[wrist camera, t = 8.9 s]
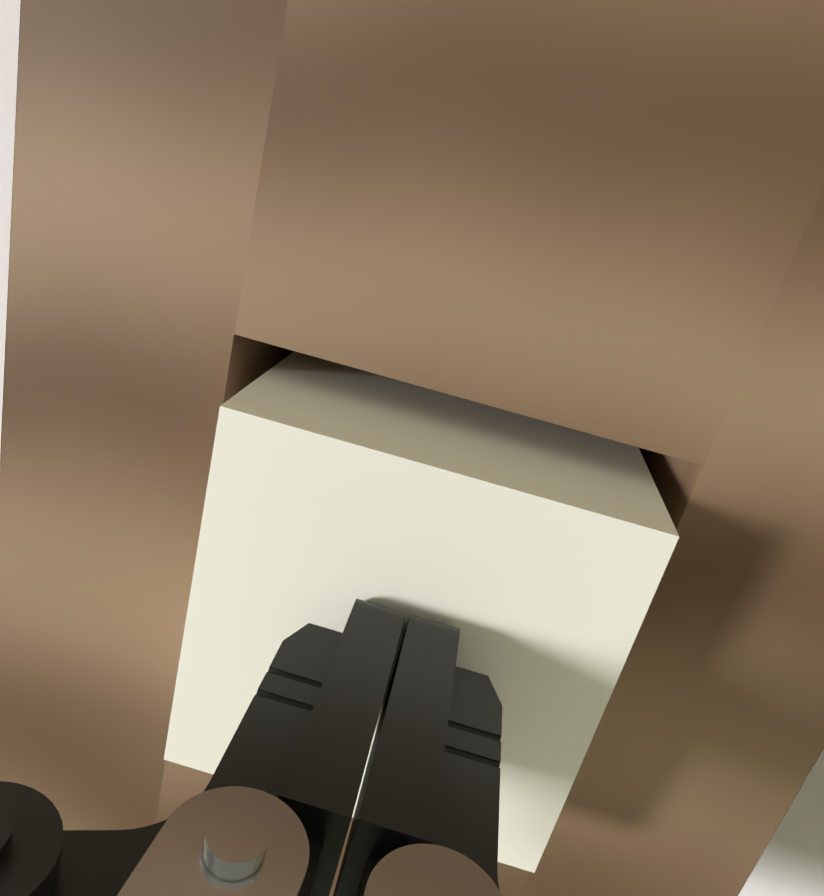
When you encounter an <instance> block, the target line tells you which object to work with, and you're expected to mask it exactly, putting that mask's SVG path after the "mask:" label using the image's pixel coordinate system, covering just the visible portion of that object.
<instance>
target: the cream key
mask: <svg viewBox="0 0 824 896" xmlns="http://www.w3.org/2000/svg"><path fill="white" fill-rule="evenodd" d="M678 539H679V535H678V532H677V530H676V528H675V526H674V524H673V522H672V519H671V517H670V515H669V513H668V511H667V509H666V506H665V504H664V502H663V500H662V498H661V496H660V493H659V491H658V489H657V487H656V485H655V482H654V480H653V478H652V476H651V474H650V472H649V469H648V467H647V465H646V463H645V461H644V459H643V456H642V454H641V452H640V450H639V448H638V447H635V446H632V445H628V444H625V443H621V442H617V441H614V440H610V439H607V438H603V437H600V436H596V435H592V434H589V433H585V432H582V431H578V430H575V429H571V428H567V427H564V426H560V425H557V424H553V423H550V422H546V421H542V420H539V419H535V418H532V417H528V416H524V415H521V414H517V413H514V412H510V411H507V410H503V409H499V408H496V407H492V406H489V405H485V404H482V403H478V402H474V401H471V400H467V399H464V398H460V397H457V396H453V395H449V394H446V393H442V392H439V391H435V390H432V389H428V388H424V387H421V386H417V385H414V384H410V383H407V382H403V381H399V380H396V379H392V378H389V377H385V376H382V375H378V374H374V373H371V372H367V371H364V370H360V369H357V368H353V367H349V366H346V365H342V364H339V363H335V362H332V361H328V360H324V359H321V358H317V357H314V356H310V355H307V354H303V353H299V352H296V351H294V352H292V353H291V354H290V355H288V356H287V357H286V358H284V359H283V360H282V361H280V362H279V363H277V364H276V365H275V366H273V367H272V368H271V369H269V370H268V371H267V372H265V373H264V374H263V375H261V376H260V377H258V378H257V379H256V380H254V381H253V382H252V383H250V384H249V385H248V386H246V387H245V388H244V389H242V390H241V391H239V392H238V393H237V394H235V395H234V396H233V397H231V398H230V399H229V400H227V401H226V402H225V403H223V404H222V405H221V406H220V408H219V415H218V421H217V427H216V434H215V440H214V446H213V452H212V459H211V465H210V471H209V477H208V484H207V490H206V496H205V503H204V509H203V515H202V521H201V528H200V534H199V540H198V547H197V553H196V559H195V565H194V572H193V578H192V584H191V590H190V597H189V603H188V609H187V616H186V622H185V628H184V634H183V641H182V647H181V653H180V660H179V666H178V672H177V678H176V685H175V691H174V697H173V704H172V710H171V716H170V722H169V729H168V735H167V741H166V747H165V754H164V760H167V761H170V762H174V763H177V764H180V765H183V766H187V767H190V768H193V769H197V770H200V771H203V772H206V773H210V774H214V772H215V770H216V768H217V767H218V765H219V763H220V761H221V759H222V757H223V755H224V753H225V751H226V749H227V747H228V745H229V743H230V742H231V740H232V738H233V736H234V734H235V732H236V730H237V728H238V726H239V724H240V722H241V720H242V718H243V717H244V715H245V713H246V711H247V709H248V707H249V705H250V703H251V701H252V699H253V697H254V695H256V693H257V690H258V688H259V686H260V684H261V682H262V680H263V678H264V676H265V674H266V672H268V670H269V666H270V665H271V663H272V661H273V659H274V657H275V655H276V653H277V651H278V649H279V647H280V645H281V643H282V641H283V640H285V639H286V638H287V637H289V636H290V635H292V634H293V633H295V632H296V631H298V630H299V629H301V628H302V627H304V626H305V625H307V624H308V623H311V624H315V625H318V626H321V627H325V628H328V629H331V630H335V631H338V632H342V633H343V630H344V628H345V625H346V623H347V620H348V618H349V615H350V613H351V610H352V608H353V605H354V603H355V600H356V599H360V600H364V601H367V602H370V603H374V604H377V605H381V606H384V607H387V608H391V609H394V610H398V611H401V612H404V613H406V614H405V618H404V622H403V626H402V629H401V633H400V637H399V641H398V645H397V648H396V652H395V656H394V660H393V664H392V667H391V671H390V675H389V679H388V682H387V686H386V690H385V694H384V698H383V701H382V705H381V709H380V713H379V717H378V720H377V724H376V728H375V732H374V735H373V739H372V743H371V747H370V751H369V754H368V758H367V762H366V766H365V769H364V773H363V777H362V781H361V785H360V788H359V792H358V796H357V800H356V804H355V807H354V811H353V815H352V817H354V813H355V809H356V805H357V802H358V798H359V794H360V790H361V786H362V783H363V779H364V775H365V771H366V767H367V763H368V760H369V756H370V752H371V748H372V744H373V741H374V737H375V733H376V730H377V726H378V722H379V719H380V715H381V712H382V708H383V705H384V701H385V698H386V695H387V691H388V688H389V684H390V681H391V677H392V674H393V671H394V667H395V664H396V660H397V657H398V653H399V650H400V647H401V643H402V640H403V636H404V633H405V629H406V626H407V623H408V619H409V616H410V614H412V615H415V616H419V617H422V618H425V619H429V620H432V621H436V622H439V623H442V624H446V625H449V626H453V627H456V628H459V629H460V636H459V644H458V652H457V659H456V666H457V667H460V668H464V669H467V670H470V671H474V672H477V673H481V674H484V675H487V676H489V679H490V681H491V683H492V685H493V687H494V689H495V691H496V693H497V695H498V698H499V700H500V702H501V704H502V734H501V739H500V742H501V762H500V766H499V768H500V799H499V832H498V862H500V863H503V864H507V865H510V866H513V867H516V868H520V869H523V870H526V871H529V872H533V873H535V870H536V868H537V866H538V863H539V861H540V859H541V856H542V854H543V852H544V849H545V847H546V845H547V842H548V840H549V838H550V836H551V833H552V831H553V829H554V826H555V824H556V822H557V819H558V817H559V815H560V812H561V810H562V808H563V805H564V803H565V801H566V798H567V796H568V794H569V791H570V789H571V787H572V785H573V782H574V780H575V778H576V775H577V773H578V771H579V768H580V766H581V764H582V761H583V759H584V757H585V754H586V752H587V750H588V747H589V745H590V743H591V740H592V738H593V736H594V734H595V731H596V729H597V727H598V724H599V722H600V720H601V717H602V715H603V713H604V710H605V708H606V706H607V703H608V701H609V699H610V696H611V694H612V692H613V689H614V687H615V685H616V683H617V680H618V678H619V676H620V673H621V671H622V669H623V666H624V664H625V662H626V659H627V657H628V655H629V652H630V650H631V648H632V645H633V643H634V641H635V638H636V636H637V634H638V632H639V629H640V627H641V625H642V622H643V620H644V618H645V615H646V613H647V611H648V608H649V606H650V604H651V601H652V599H653V597H654V594H655V592H656V590H657V587H658V585H659V583H660V581H661V578H662V576H663V574H664V571H665V569H666V567H667V564H668V562H669V560H670V557H671V555H672V553H673V550H674V548H675V546H676V543H677V541H678Z"/></svg>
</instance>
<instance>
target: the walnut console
mask: <svg viewBox="0 0 824 896" xmlns="http://www.w3.org/2000/svg"><path fill="white" fill-rule="evenodd" d="M294 351H296V352H299V353H303V354H307V355H310V356H314V357H317V358H321V359H324V360H328V361H332V362H335V363H339V364H342V365H346V366H349V367H353V368H357V369H360V370H364V371H367V372H371V373H374V374H378V375H382V376H385V377H389V378H392V379H396V380H399V381H403V382H407V383H410V384H414V385H417V386H421V387H424V388H428V389H432V390H435V391H439V392H442V393H446V394H449V395H453V396H457V397H460V398H464V399H467V400H471V401H474V402H478V403H482V404H485V405H489V406H492V407H496V408H499V409H503V410H507V411H510V412H514V413H517V414H521V415H524V416H528V417H532V418H535V419H539V420H542V421H546V422H550V423H553V424H557V425H560V426H564V427H567V428H571V429H575V430H578V431H582V432H585V433H589V434H592V435H596V436H600V437H603V438H607V439H610V440H614V441H617V442H621V443H625V444H628V445H632V446H635V447H638V448H639V450H640V452H641V454H642V456H643V459H644V461H645V463H646V465H647V467H648V469H649V472H650V474H651V476H652V478H653V480H654V482H655V485H656V487H657V489H658V491H659V493H660V496H661V498H662V500H663V502H664V504H665V506H666V509H667V511H668V513H669V515H670V517H671V519H672V522H673V524H674V526H675V528H676V530H677V532H678V535H679V539H678V541H677V543H676V546H675V548H674V550H673V553H672V555H671V557H670V560H669V562H668V564H667V567H666V569H665V571H664V574H663V576H662V578H661V581H660V583H659V585H658V587H657V590H656V592H655V594H654V597H653V599H652V601H651V604H650V606H649V608H648V611H647V613H646V615H645V618H644V620H643V622H642V625H641V627H640V629H639V632H638V634H637V636H636V638H635V641H634V643H633V645H632V648H631V650H630V652H629V655H628V657H627V659H626V662H625V664H624V666H623V669H622V671H621V673H620V676H619V678H618V680H617V683H616V685H615V687H614V689H613V692H612V694H611V696H610V699H609V701H608V703H607V706H606V708H605V710H604V713H603V715H602V717H601V720H600V722H599V724H598V727H597V729H596V731H595V734H594V736H593V738H592V740H591V743H590V745H589V747H588V750H587V752H586V754H585V757H584V759H583V761H582V764H581V766H580V768H579V771H578V773H577V775H576V778H575V780H574V782H573V785H572V787H571V789H570V791H569V794H568V796H567V798H566V801H565V803H564V805H563V808H562V810H561V812H560V815H559V817H558V819H557V822H556V824H555V826H554V829H553V831H552V833H551V836H550V838H549V840H548V842H547V845H546V847H545V849H544V852H543V854H542V856H541V859H540V861H539V863H538V866H537V868H536V870H535V873H533V872H529V871H526V870H523V869H520V868H516V867H513V866H510V865H507V864H503V863H500V862H498V865H497V873H498V884H499V889H500V892H501V894H502V896H738V894H739V893H740V891H741V889H742V888H743V886H744V884H745V882H746V881H747V879H748V877H749V876H750V874H751V872H752V870H753V869H754V867H755V865H756V864H757V862H758V860H759V858H760V857H761V855H762V853H763V852H764V850H765V848H766V846H767V845H768V843H769V841H770V840H771V838H772V836H773V834H774V833H775V831H776V829H777V828H778V826H779V824H780V822H781V821H782V819H783V817H784V816H785V814H786V812H787V810H788V809H789V807H790V805H791V804H792V802H793V800H794V798H795V797H796V795H797V793H798V791H799V790H800V788H801V786H802V785H803V783H804V781H805V779H806V778H807V776H808V774H809V773H810V771H811V769H812V767H813V766H814V764H815V762H816V761H817V759H818V757H819V755H820V754H821V752H822V750H823V749H824V0H21V7H20V30H19V52H18V74H17V97H16V119H15V141H14V164H13V186H12V208H11V231H10V253H9V276H8V298H7V320H6V343H5V365H4V387H3V410H2V432H1V455H0V781H6V782H13V783H18V784H23V785H25V786H28V787H31V788H34V789H35V790H37V791H39V792H40V793H42V794H44V795H45V796H46V797H47V798H48V799H49V800H50V801H51V802H52V803H53V804H54V805H55V807H56V808H57V810H58V811H59V814H60V817H61V819H62V823H63V830H126V829H135V828H141V827H146V826H149V825H153V824H156V823H159V822H162V821H164V820H166V819H168V818H169V817H170V816H171V814H172V813H173V812H174V811H175V810H176V809H177V808H178V807H179V806H180V805H182V804H183V803H184V802H186V801H187V800H189V799H190V798H192V797H193V796H195V795H198V794H200V793H202V792H203V791H204V790H205V788H206V787H207V785H208V783H209V782H210V780H211V778H212V776H213V774H210V773H206V772H203V771H200V770H197V769H193V768H190V767H187V766H183V765H180V764H177V763H174V762H170V761H167V760H164V754H165V747H166V741H167V735H168V729H169V722H170V716H171V710H172V704H173V697H174V691H175V685H176V678H177V672H178V666H179V660H180V653H181V647H182V641H183V634H184V628H185V622H186V616H187V609H188V603H189V597H190V590H191V584H192V578H193V572H194V565H195V559H196V553H197V547H198V540H199V534H200V528H201V521H202V515H203V509H204V503H205V496H206V490H207V484H208V477H209V471H210V465H211V459H212V452H213V446H214V440H215V434H216V427H217V421H218V415H219V408H220V406H221V405H222V404H223V403H225V402H226V401H227V400H229V399H230V398H231V397H233V396H234V395H235V394H237V393H238V392H239V391H241V390H242V389H244V388H245V387H246V386H248V385H249V384H250V383H252V382H253V381H254V380H256V379H257V378H258V377H260V376H261V375H263V374H264V373H265V372H267V371H268V370H269V369H271V368H272V367H273V366H275V365H276V364H277V363H279V362H280V361H282V360H283V359H284V358H286V357H287V356H288V355H290V354H291V353H292V352H294ZM352 821H353V817H352V819H351V822H350V825H349V829H348V832H347V836H346V839H345V842H344V846H343V849H342V853H341V856H340V860H339V863H338V866H337V870H336V873H335V877H334V880H333V883H332V887H331V890H330V894H329V896H333V893H334V890H335V886H336V882H337V878H338V874H339V870H340V867H341V863H342V859H343V855H344V851H345V848H346V844H347V840H348V836H349V832H350V828H351V825H352Z"/></svg>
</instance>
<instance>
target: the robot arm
mask: <svg viewBox="0 0 824 896" xmlns="http://www.w3.org/2000/svg"><path fill="white" fill-rule="evenodd" d="M405 614H406V613H404V612H401V611H398V610H394V609H391V608H387V607H384V606H381V605H377V604H374V603H370V602H367V601H364V600H360V599H356V600H355V603H354V605H353V608H352V610H351V613H350V615H349V618H348V620H347V623H346V625H345V628H344V630H343V633H342V632H338V631H335V630H331V629H328V628H325V627H321V626H318V625H315V624H311V623H308V624H307V625H305V626H304V627H302V628H301V629H299V630H298V631H296V632H295V633H293V634H292V635H290V636H289V637H287V638H286V639H285V640H283V641H282V643H281V645H280V647H279V649H278V651H277V653H276V655H275V657H274V659H273V661H272V663H271V665H270V666H269V670H268V672H266V674H265V676H264V678H263V680H262V682H261V684H260V686H259V688H258V690H257V693H256V695H254V697H253V699H252V701H251V703H250V705H249V707H248V709H247V711H246V713H245V715H244V717H243V718H242V720H241V722H240V724H239V726H238V728H237V730H236V732H235V734H234V736H233V738H232V740H231V742H230V743H229V745H228V747H227V749H226V751H225V753H224V755H223V757H222V759H221V761H220V763H219V765H218V767H217V768H216V770H215V772H214V774H213V776H212V778H211V780H210V782H209V783H208V785H207V787H206V788H205V790H204V791H203V792H202V793H200V794H198V795H195V796H193V797H192V798H190V799H189V800H187V801H186V802H184V803H183V804H182V805H180V806H179V807H178V808H177V809H176V810H175V811H174V812H173V813H172V814H171V816H170V817H169V818H168V819H166V820H164V821H162V822H159V823H156V824H153V825H149V826H146V827H141V828H135V829H126V830H63V823H62V819H61V817H60V814H59V811H58V810H57V808H56V807H55V805H54V804H53V803H52V802H51V801H50V800H49V799H48V798H47V797H46V796H45V795H44V794H42V793H40V792H39V791H37V790H35V789H34V788H31V787H28V786H25V785H23V784H18V783H13V782H6V781H0V896H329V894H330V890H331V887H332V883H333V880H334V877H335V873H336V870H337V866H338V863H339V860H340V856H341V853H342V849H343V846H344V842H345V839H346V836H347V832H348V829H349V825H350V822H351V819H352V815H353V811H354V807H355V804H356V800H357V796H358V792H359V788H360V785H361V781H362V777H363V773H364V769H365V766H366V762H367V758H368V754H369V751H370V747H371V743H372V739H373V735H374V732H375V728H376V724H377V720H378V717H379V713H380V709H381V705H382V701H383V698H384V694H385V690H386V686H387V682H388V679H389V675H390V671H391V667H392V664H393V660H394V656H395V652H396V648H397V645H398V641H399V637H400V633H401V629H402V626H403V622H404V618H405ZM459 636H460V629H459V628H456V627H453V626H449V625H446V624H442V623H439V622H436V621H432V620H429V619H425V618H422V617H419V616H415V615H412V614H410V616H409V619H408V623H407V626H406V629H405V633H404V636H403V640H402V643H401V647H400V650H399V653H398V657H397V660H396V664H395V667H394V671H393V674H392V677H391V681H390V684H389V688H388V691H387V695H386V698H385V701H384V705H383V708H382V712H381V715H380V719H379V722H378V726H377V730H376V733H375V737H374V741H373V744H372V748H371V752H370V756H369V760H368V763H367V767H366V771H365V775H364V779H363V783H362V786H361V790H360V794H359V798H358V802H357V805H356V809H355V813H354V817H353V821H352V825H351V828H350V832H349V836H348V840H347V844H346V848H345V851H344V855H343V859H342V863H341V867H340V870H339V874H338V878H337V882H336V886H335V890H334V893H333V896H502V894H501V892H500V889H499V884H498V873H497V865H498V832H499V799H500V768H499V766H500V762H501V742H500V739H501V734H502V704H501V702H500V700H499V698H498V695H497V693H496V691H495V689H494V687H493V685H492V683H491V681H490V679H489V676H487V675H484V674H481V673H477V672H474V671H470V670H467V669H464V668H460V667H457V666H456V659H457V652H458V644H459Z"/></svg>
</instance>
